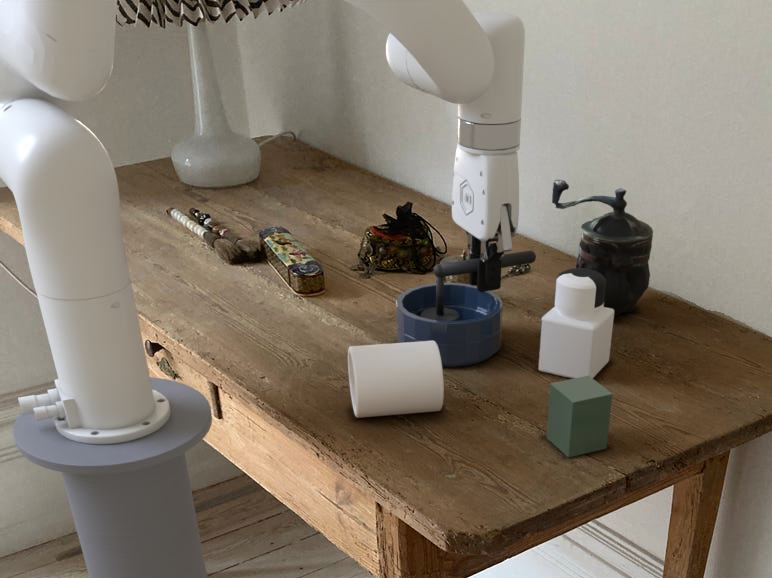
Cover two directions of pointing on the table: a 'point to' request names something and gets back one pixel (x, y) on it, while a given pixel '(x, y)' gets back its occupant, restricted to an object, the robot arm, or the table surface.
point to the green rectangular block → (578, 416)
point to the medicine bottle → (576, 326)
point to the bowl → (453, 322)
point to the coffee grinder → (614, 249)
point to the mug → (395, 378)
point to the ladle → (464, 268)
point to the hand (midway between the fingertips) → (484, 285)
